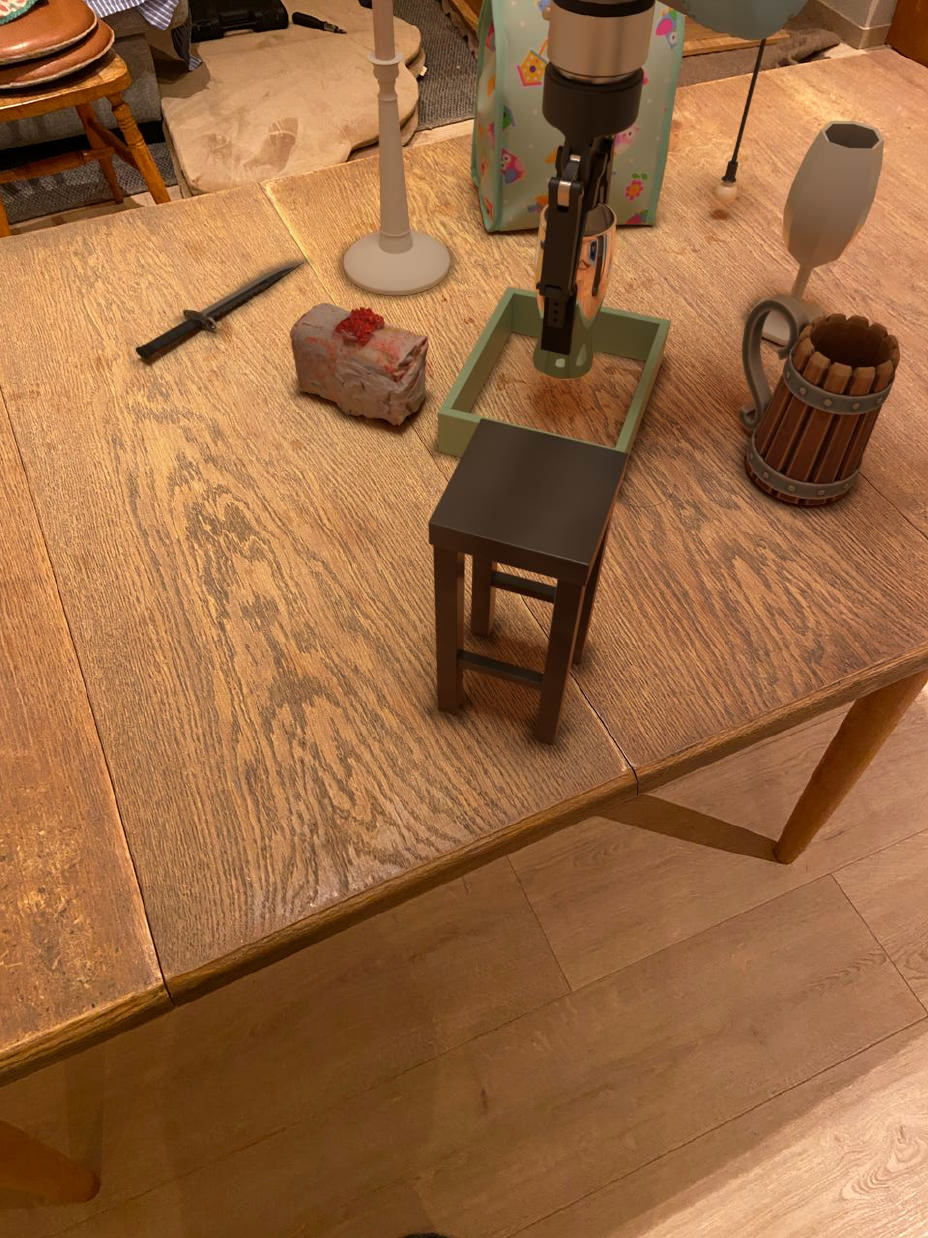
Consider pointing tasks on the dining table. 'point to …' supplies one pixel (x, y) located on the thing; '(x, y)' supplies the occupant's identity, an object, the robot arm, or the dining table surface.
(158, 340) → the knife
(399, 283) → the candlestick
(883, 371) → the mug
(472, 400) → the green rectangular open frame
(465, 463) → the stool
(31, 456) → the dining table surface
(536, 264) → the beer glass
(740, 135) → the light fixture
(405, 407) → the food item
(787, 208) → the wineglass
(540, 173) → the lunch bag
